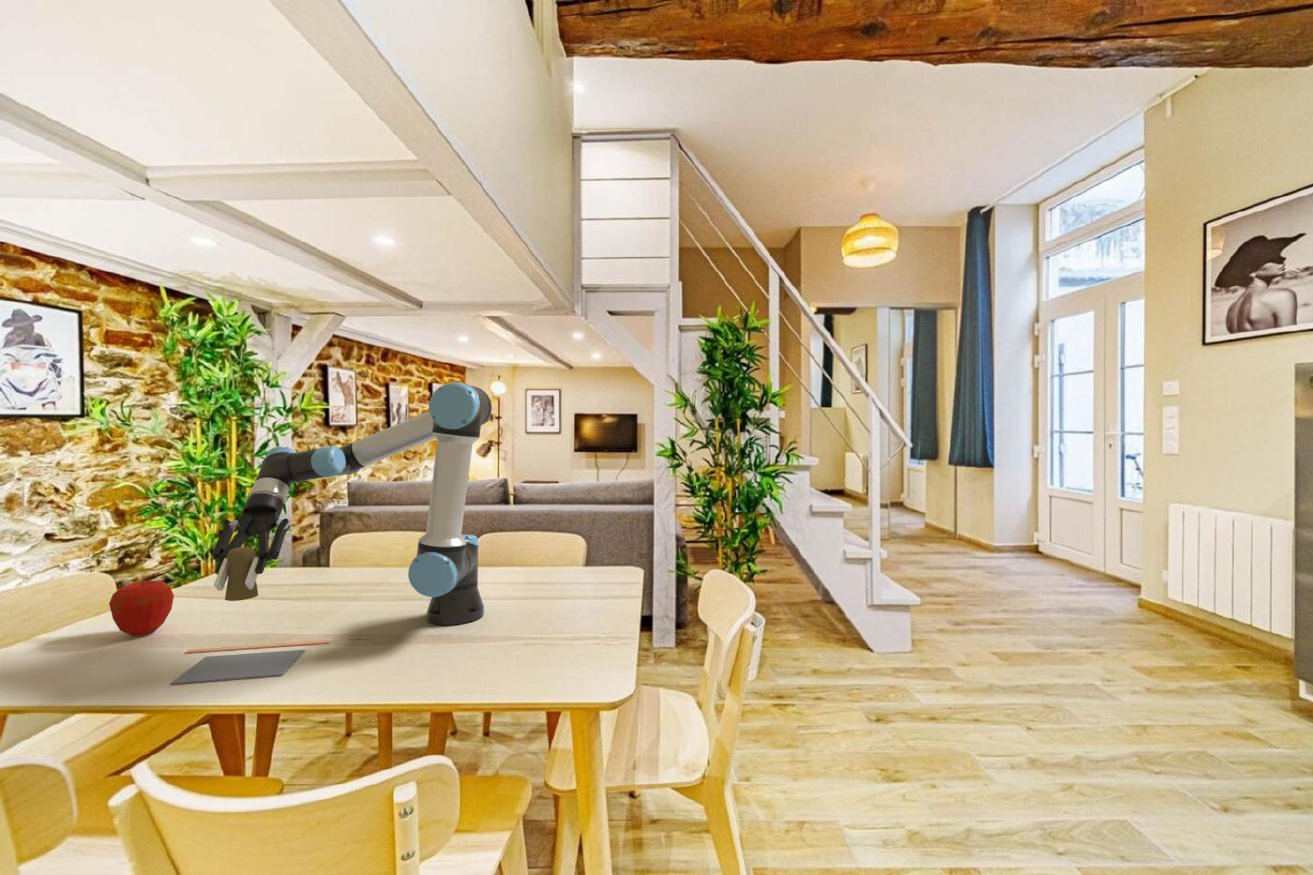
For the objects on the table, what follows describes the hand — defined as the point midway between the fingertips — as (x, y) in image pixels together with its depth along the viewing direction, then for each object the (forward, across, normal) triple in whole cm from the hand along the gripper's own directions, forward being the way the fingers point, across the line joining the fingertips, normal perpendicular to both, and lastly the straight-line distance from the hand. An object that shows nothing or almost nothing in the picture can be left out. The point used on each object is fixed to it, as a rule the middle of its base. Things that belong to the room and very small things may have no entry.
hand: (233, 586), depth 124 cm
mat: (+12, -1, -13) cm, 18 cm away
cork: (0, 0, -5) cm, 5 cm away
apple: (-7, +32, -33) cm, 46 cm away
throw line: (+4, 0, -22) cm, 22 cm away
